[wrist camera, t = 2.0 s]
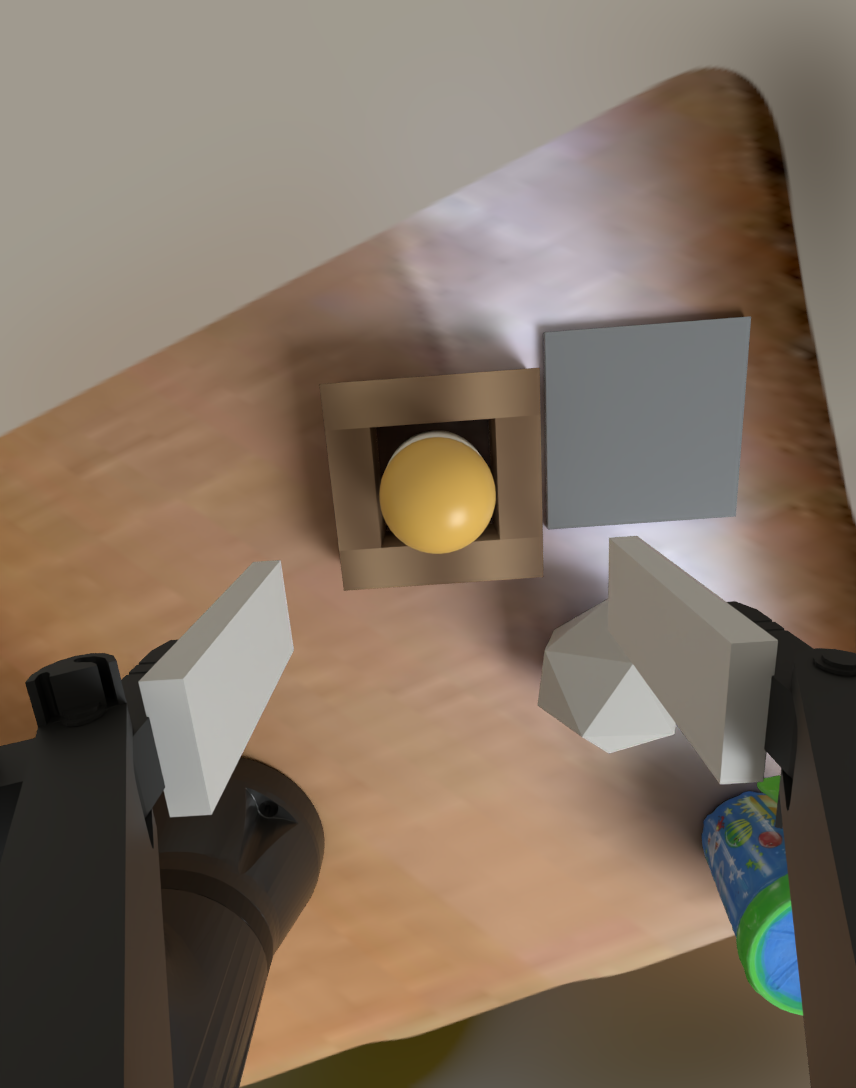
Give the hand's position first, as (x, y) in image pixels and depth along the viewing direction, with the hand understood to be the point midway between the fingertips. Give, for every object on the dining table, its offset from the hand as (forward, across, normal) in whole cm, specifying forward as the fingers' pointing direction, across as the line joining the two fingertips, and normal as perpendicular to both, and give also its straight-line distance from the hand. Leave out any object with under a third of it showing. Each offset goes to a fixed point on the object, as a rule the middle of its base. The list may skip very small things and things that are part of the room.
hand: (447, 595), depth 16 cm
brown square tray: (+21, 0, 0) cm, 21 cm away
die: (+22, +10, -13) cm, 27 cm away
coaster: (+21, +13, +2) cm, 25 cm away
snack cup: (+22, +22, -29) cm, 42 cm away
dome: (+19, 0, 0) cm, 19 cm away
